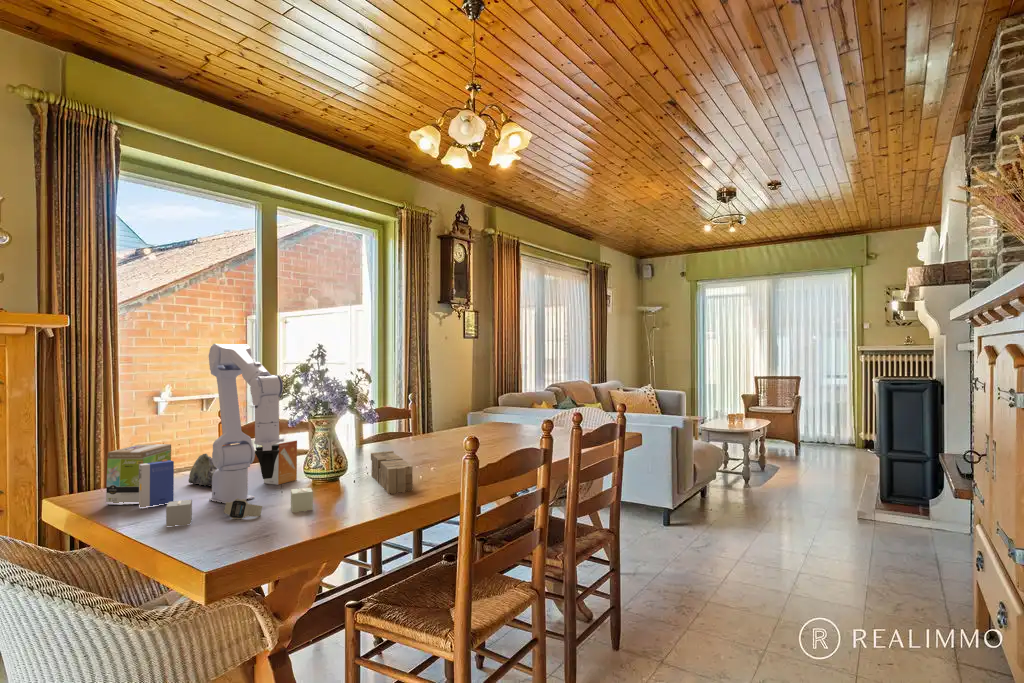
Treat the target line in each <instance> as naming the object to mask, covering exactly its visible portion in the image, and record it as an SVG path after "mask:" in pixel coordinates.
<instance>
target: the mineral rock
mask: <svg viewBox="0 0 1024 683" xmlns="http://www.w3.org/2000/svg"><path fill="white" fill-rule="evenodd" d="M216 470H217V468H216V467H215V466H214V464H213V461H212V456H209V455H208V454H207V453H202V454H200V455H199V456H198V457H197V458H196V460H195V461H194V463H193V465H192V467H191V470H190V472H189V478H188V483H189V484H191V483H194V485H195V484H199V485H198V486H201V485H204V486H203V487H207V486H206V485H212V476H213V474H214V472H215V471H216Z"/></svg>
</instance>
